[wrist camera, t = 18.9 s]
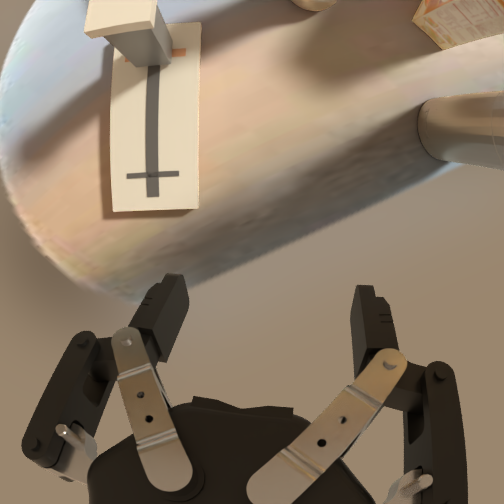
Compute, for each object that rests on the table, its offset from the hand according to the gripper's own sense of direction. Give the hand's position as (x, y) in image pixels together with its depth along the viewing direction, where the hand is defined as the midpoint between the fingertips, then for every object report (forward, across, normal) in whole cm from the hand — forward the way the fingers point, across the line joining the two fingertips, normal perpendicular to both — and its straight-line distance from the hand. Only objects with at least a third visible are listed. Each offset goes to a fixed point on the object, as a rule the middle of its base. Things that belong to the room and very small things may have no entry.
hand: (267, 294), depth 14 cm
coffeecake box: (+39, -24, -22) cm, 51 cm away
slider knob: (+23, +14, -12) cm, 30 cm away
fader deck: (+23, +15, -5) cm, 28 cm away
